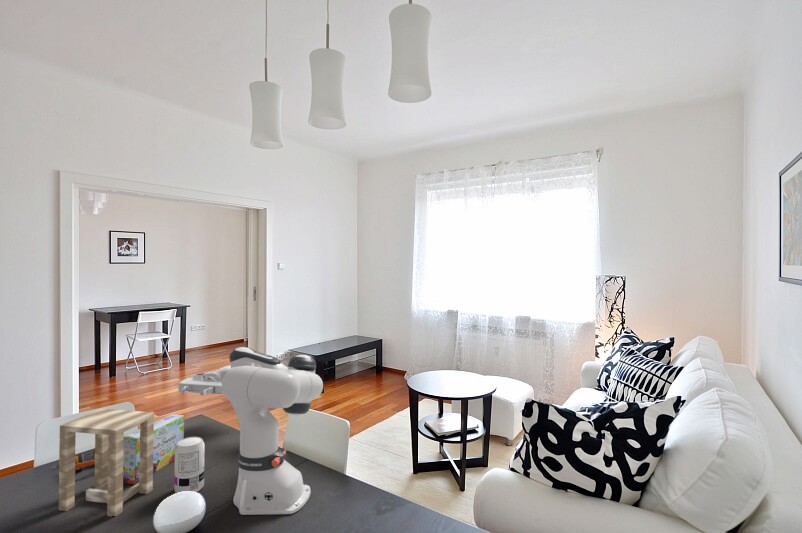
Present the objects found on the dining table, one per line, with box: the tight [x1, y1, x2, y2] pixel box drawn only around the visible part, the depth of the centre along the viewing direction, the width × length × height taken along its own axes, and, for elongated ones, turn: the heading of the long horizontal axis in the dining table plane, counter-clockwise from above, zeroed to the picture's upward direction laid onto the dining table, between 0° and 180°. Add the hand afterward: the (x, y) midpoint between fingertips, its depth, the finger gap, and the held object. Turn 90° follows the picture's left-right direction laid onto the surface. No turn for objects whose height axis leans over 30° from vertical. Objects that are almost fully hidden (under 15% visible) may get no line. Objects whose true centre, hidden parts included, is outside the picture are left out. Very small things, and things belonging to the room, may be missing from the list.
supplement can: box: [173, 436, 206, 494], centre depth 128 cm, size 8×8×15 cm
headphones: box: [52, 449, 95, 471], centre depth 142 cm, size 17×5×20 cm
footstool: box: [58, 408, 155, 517], centre depth 122 cm, size 18×15×24 cm
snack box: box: [123, 413, 185, 486], centre depth 140 cm, size 21×6×15 cm, turn 168°
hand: (192, 392), depth 159 cm, fingers open, 7 cm apart
